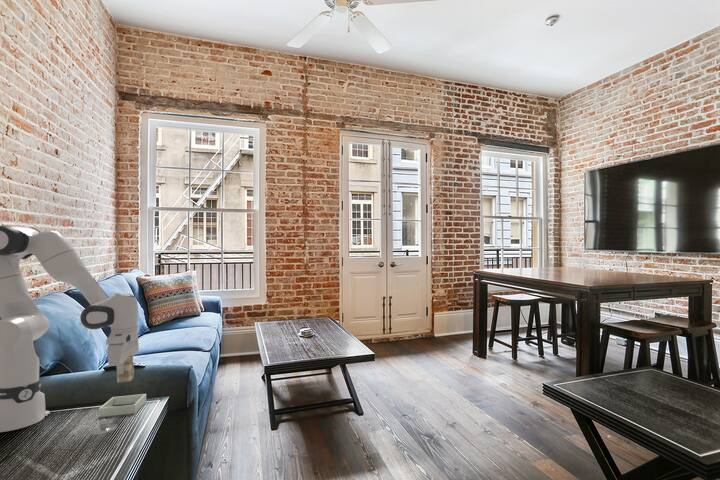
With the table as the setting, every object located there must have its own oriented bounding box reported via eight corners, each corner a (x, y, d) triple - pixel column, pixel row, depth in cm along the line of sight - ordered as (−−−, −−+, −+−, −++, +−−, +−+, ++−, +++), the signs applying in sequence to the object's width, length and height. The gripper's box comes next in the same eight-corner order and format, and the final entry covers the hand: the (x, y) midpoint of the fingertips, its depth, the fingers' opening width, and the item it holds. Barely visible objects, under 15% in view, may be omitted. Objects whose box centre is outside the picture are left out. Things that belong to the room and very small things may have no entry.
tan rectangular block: (121, 378, 143) (120, 355, 143) (134, 377, 144) (132, 354, 144) (117, 382, 138) (116, 359, 138) (130, 381, 139) (129, 357, 140)
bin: (98, 419, 133) (98, 408, 133) (112, 407, 144) (112, 397, 145) (135, 415, 135) (135, 404, 136) (146, 403, 147) (146, 393, 147)
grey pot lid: (83, 434, 121) (83, 421, 121) (109, 424, 128) (109, 412, 128) (96, 439, 117) (96, 426, 118) (122, 429, 124) (122, 416, 125)
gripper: (126, 331, 151) (126, 365, 150) (103, 341, 131) (103, 380, 130) (143, 329, 153) (143, 363, 152) (123, 339, 133) (123, 378, 132)
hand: (124, 371), depth 141 cm, fingers closed on tan rectangular block, 4 cm apart
